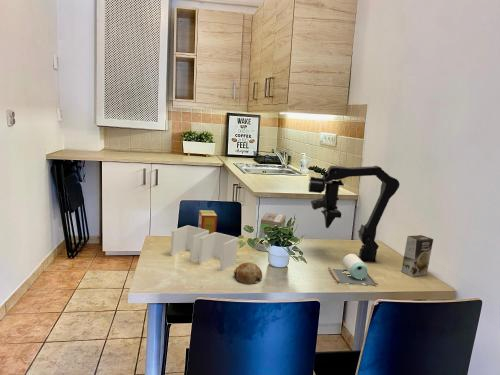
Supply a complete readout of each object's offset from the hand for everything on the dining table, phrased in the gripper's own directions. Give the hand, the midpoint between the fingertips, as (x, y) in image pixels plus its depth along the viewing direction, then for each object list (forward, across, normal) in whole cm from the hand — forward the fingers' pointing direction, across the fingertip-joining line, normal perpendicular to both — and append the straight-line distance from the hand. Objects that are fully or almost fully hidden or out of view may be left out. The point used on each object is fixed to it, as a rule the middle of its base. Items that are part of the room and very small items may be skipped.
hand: (326, 227), depth 183 cm
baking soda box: (+13, 0, -54) cm, 56 cm away
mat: (+13, +24, +6) cm, 28 cm away
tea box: (+13, -6, -24) cm, 28 cm away
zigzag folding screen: (+14, +16, -54) cm, 58 cm away
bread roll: (+13, +33, -36) cm, 51 cm away
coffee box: (+13, +15, +36) cm, 41 cm away
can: (+9, +16, +7) cm, 20 cm away
